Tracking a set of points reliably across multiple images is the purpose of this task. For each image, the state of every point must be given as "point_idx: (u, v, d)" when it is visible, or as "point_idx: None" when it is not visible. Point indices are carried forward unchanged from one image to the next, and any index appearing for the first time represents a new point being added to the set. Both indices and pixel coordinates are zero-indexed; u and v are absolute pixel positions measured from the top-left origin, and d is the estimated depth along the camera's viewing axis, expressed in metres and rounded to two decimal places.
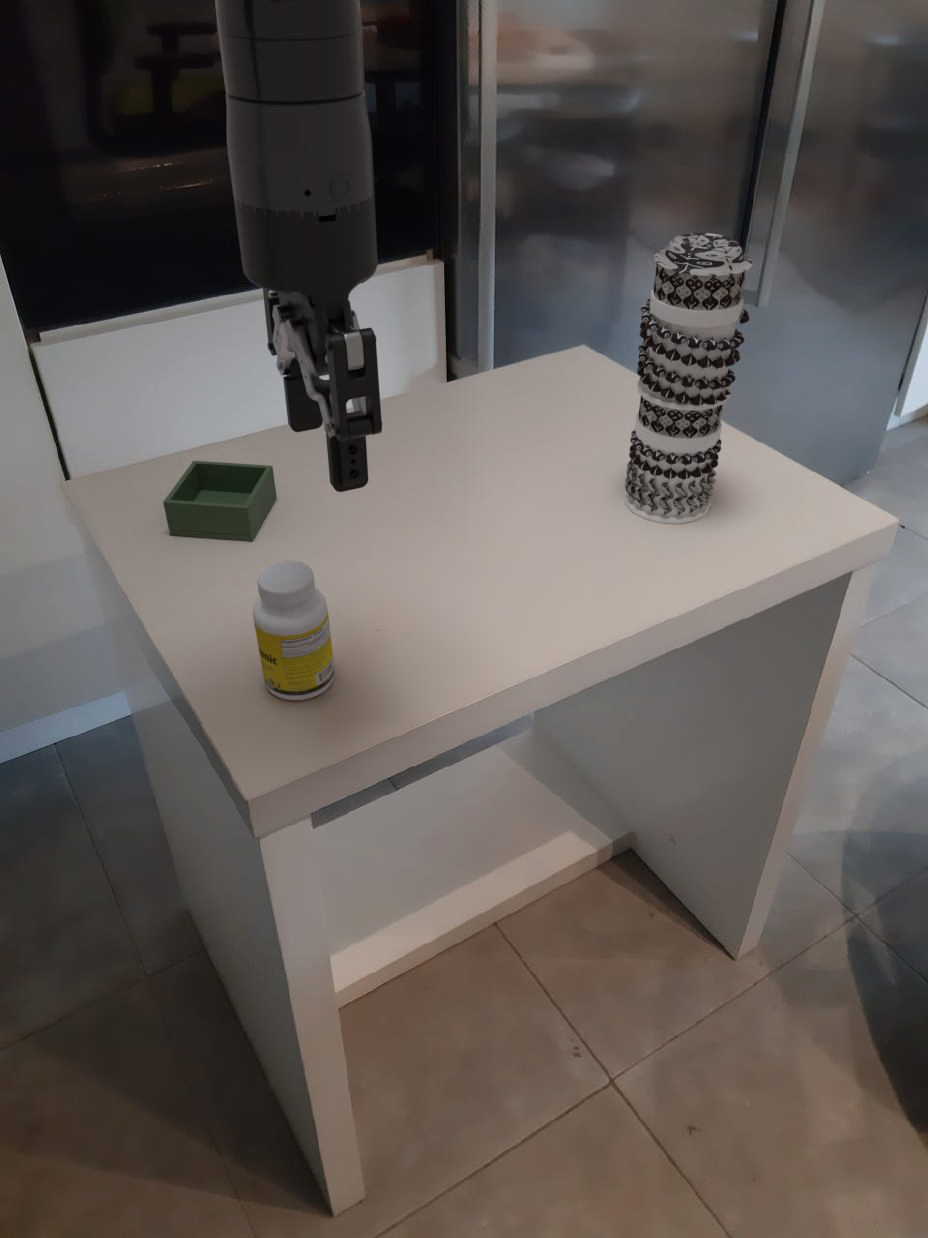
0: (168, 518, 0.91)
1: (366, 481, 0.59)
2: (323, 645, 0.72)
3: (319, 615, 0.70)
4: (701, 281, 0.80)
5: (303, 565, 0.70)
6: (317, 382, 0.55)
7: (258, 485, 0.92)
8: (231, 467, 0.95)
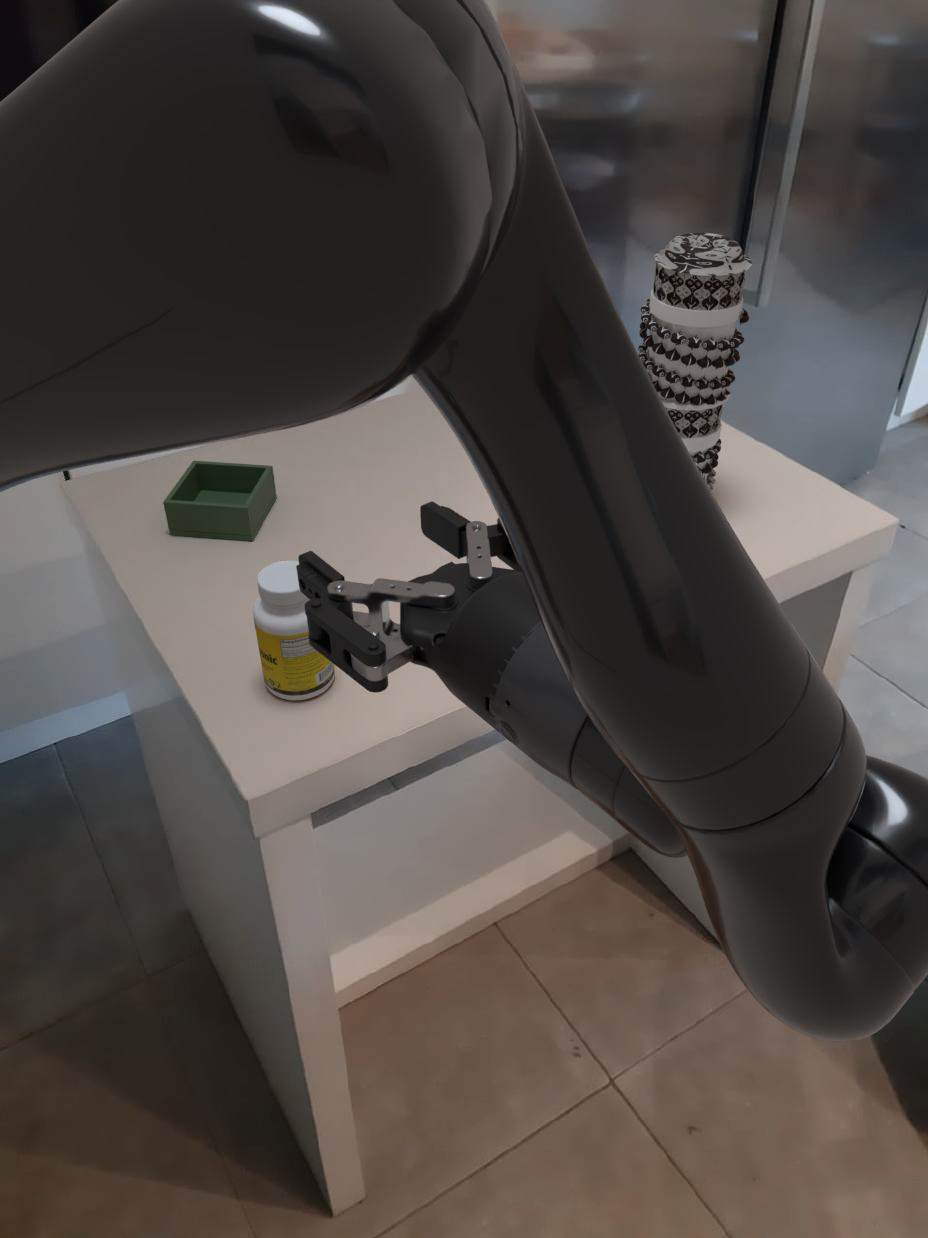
0: (168, 518, 0.91)
1: None
2: None
3: None
4: (701, 281, 0.80)
5: None
6: (379, 598, 0.51)
7: (258, 485, 0.92)
8: (231, 467, 0.95)
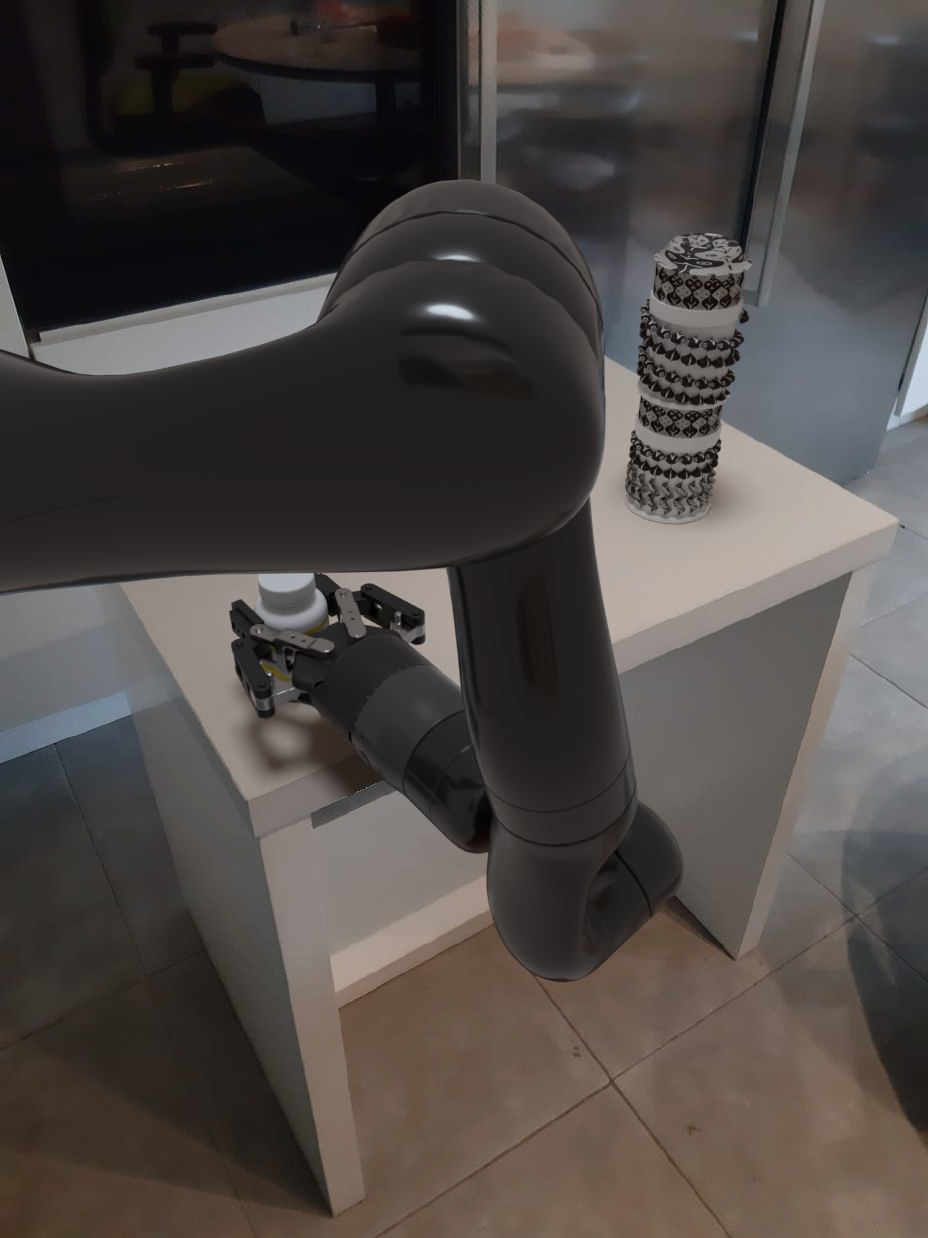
0: None
1: None
2: None
3: (320, 614, 0.70)
4: (701, 281, 0.80)
5: None
6: (281, 644, 0.66)
7: None
8: None
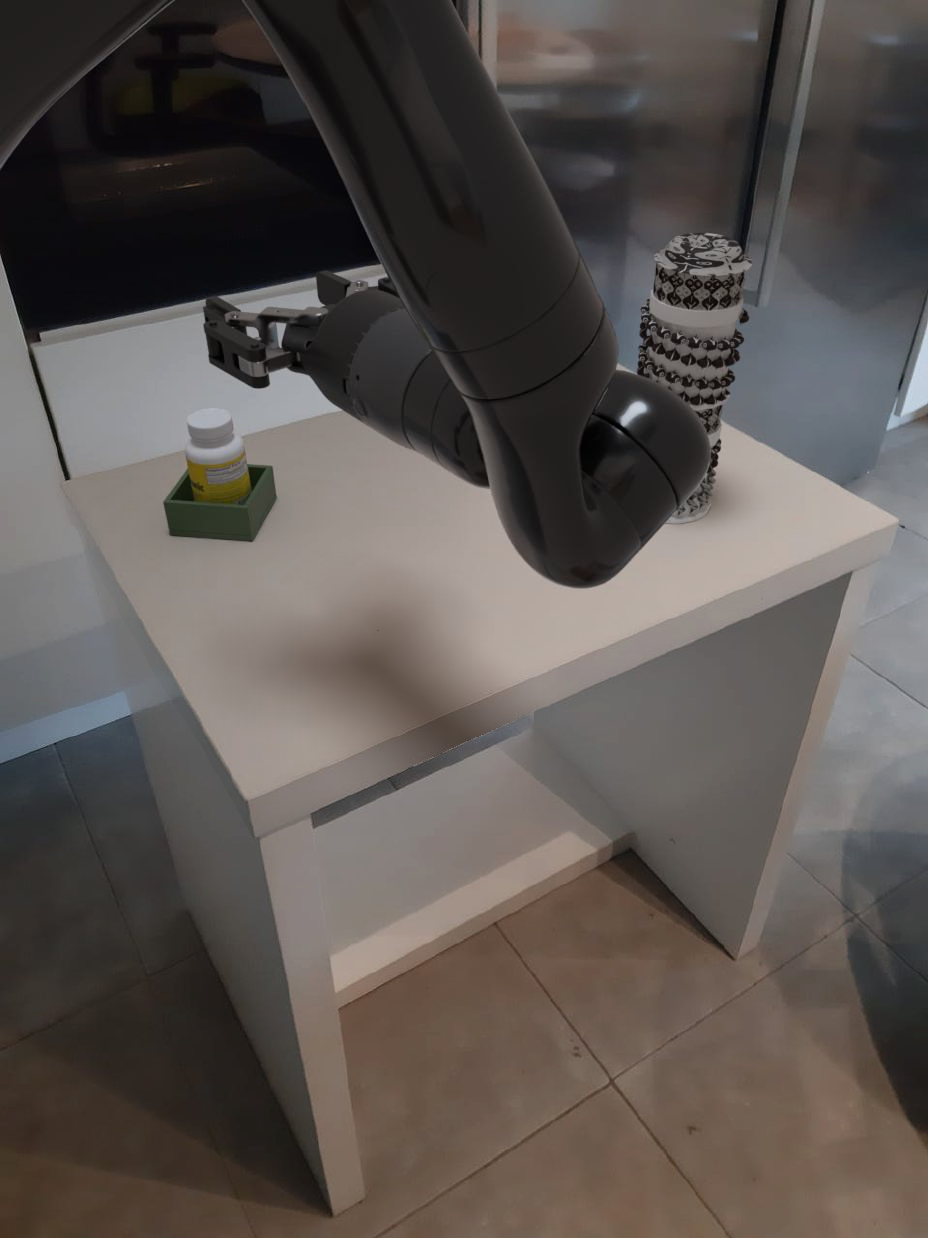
0: (168, 518, 0.91)
1: None
2: (241, 477, 0.90)
3: (236, 450, 0.89)
4: (701, 281, 0.80)
5: (224, 411, 0.89)
6: (267, 320, 0.61)
7: (258, 485, 0.92)
8: None
